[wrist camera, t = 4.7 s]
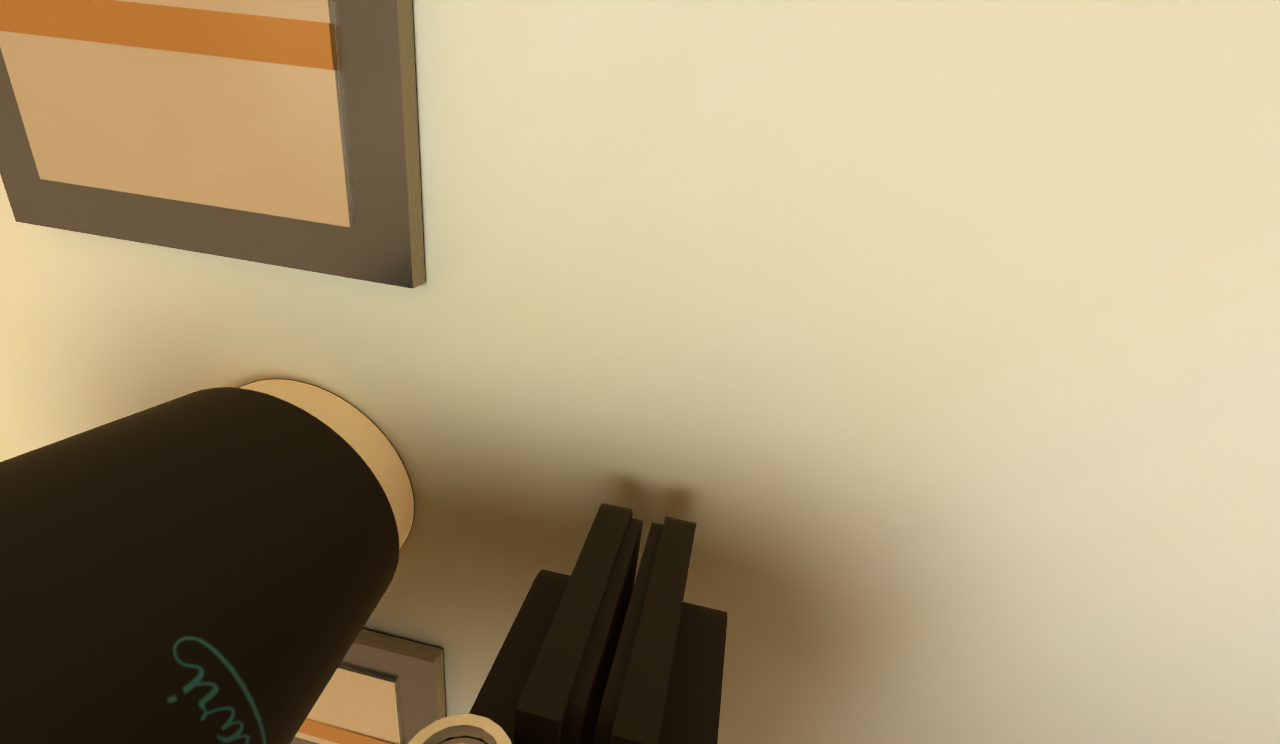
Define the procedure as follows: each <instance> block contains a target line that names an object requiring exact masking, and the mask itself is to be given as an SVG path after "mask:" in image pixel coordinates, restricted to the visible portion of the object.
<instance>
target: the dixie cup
mask: <svg viewBox="0 0 1280 744" xmlns="http://www.w3.org/2000/svg"><path fill="white" fill-rule="evenodd" d="M413 515H414V500H413V493H412V488H411V484H410V481H409V478H408V475H407V472H406V470H405V468H404V466H403V463H402V462H401V460H400V458H399V456H398V454H397V453H396V451H395V450H394V448H393V447H392V445H391V444H390V442H389V441H388V440H387V438H386V437H385V436H384V435H383V434H382V432H381V431H380V430H379V429H378V428H377V427H376V426H375V425H374V424H373V423H372V422H371V421H370V420H369V419H368V418H367V417H366V416H364V415H363V414H362V413H361V412H360V411H358V410H357V409H356V408H354V407H353V406H352V405H350V404H349V403H347V402H346V401H344V400H342V399H341V398H339V397H337V396H335V395H333V394H332V393H330V392H328V391H325V390H323V389H321V388H318V387H315V386H312V385H309V384H306V383H302V382H298V381H292V380H282V379H271V380H262V381H257V382H254V383H250V384H247V385H245V386H242V387H239V388H229V387H224V388H212V389H206V390H200V391H197V392H194V393H191V394H188V395H185V396H183V397H180V398H177V399H174V400H172V401H169V402H166V403H163V404H160V405H158V406H155V407H152V408H149V409H147V410H144V411H141V412H138V413H136V414H133V415H130V416H127V417H124V418H122V419H119V420H116V421H113V422H111V423H108V424H105V425H102V426H100V427H97V428H94V429H91V430H88V431H86V432H83V433H80V434H77V435H75V436H72V437H69V438H66V439H64V440H61V441H58V442H55V443H53V444H50V445H47V446H44V447H41V448H39V449H36V450H33V451H30V452H28V453H25V454H22V455H19V456H17V457H14V458H11V459H8V460H5V461H3V462H0V744H290V743H291V742H292V740H293V739H294V737H295V735H296V734H297V732H298V731H299V729H300V727H301V726H302V724H303V723H304V721H305V719H306V718H307V716H308V715H309V713H310V711H311V710H312V708H313V707H314V705H315V703H316V702H317V700H318V699H319V697H320V695H321V694H322V692H323V691H324V689H325V687H326V686H327V684H328V682H329V681H330V679H331V678H332V676H333V674H334V673H335V671H336V670H337V668H338V666H339V665H340V663H341V662H342V660H343V658H344V657H345V655H346V654H347V652H348V650H349V649H350V647H351V646H352V644H353V642H354V641H355V639H356V638H357V636H358V634H359V633H360V631H361V630H362V628H363V626H364V625H365V623H366V622H367V620H368V618H369V617H370V615H371V614H372V612H373V610H374V609H375V607H376V606H377V604H378V602H379V601H380V599H381V598H382V596H383V594H384V593H385V591H386V590H387V588H388V586H389V584H390V583H391V581H392V579H393V576H394V573H395V571H396V568H397V563H398V558H399V550H400V548H401V547H402V545H403V544H404V542H405V540H406V538H407V537H408V535H409V532H410V529H411V526H412V522H413Z"/></svg>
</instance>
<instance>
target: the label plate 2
mask: <svg viewBox="0 0 1280 744" xmlns="http://www.w3.org/2000/svg"><path fill="white" fill-rule="evenodd" d="M445 717H446V710H445V689H444V668H443V649H440V648H436V647H432V646H428V645H424V644H420V643H417V642H413V641H409V640H405V639H401V638H397V637H393V636H389V635H385V634H381V633H377V632H373V631H369V630H366V629H362V630H361V631H360V633H359V634H358V636H357V638H356V639H355V641H354V642H353V644H352V646H351V647H350V649H349V650H348V652H347V654H346V655H345V657H344V658H343V660H342V662H341V663H340V665H339V666H338V668H337V670H336V671H335V673H334V674H333V676H332V678H331V679H330V681H329V682H328V684H327V686H326V687H325V689H324V691H323V692H322V694H321V695H320V697H319V699H318V700H317V702H316V703H315V705H314V707H313V708H312V710H311V711H310V713H309V715H308V716H307V718H306V719H305V721H304V723H303V724H302V726H301V727H300V729H299V731H298V732H297V734H296V735H295V737H294V739H293V740H292V742H291V743H290V744H408V743H409V742H410V741H411V740H412V739H413V737H414V736H415V735H416V734H417V733H418V732H419V731H421V730H422V729H424V728H425V727H427V726H428V725H430V724H432V723H433V722H435V721H436V720H439V719H442V718H445Z"/></svg>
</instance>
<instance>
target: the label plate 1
mask: <svg viewBox="0 0 1280 744" xmlns="http://www.w3.org/2000/svg"><path fill="white" fill-rule="evenodd" d="M0 174H1V177H2V180H3V183H4V186H5V189H6V192H7V195H8V198H9V202H10V205H11V208H12V211H13V214H14V217H15V220H16V222H22V223H28V224H34V225H40V226H46V227H52V228H58V229H64V230H70V231H76V232H82V233H88V234H94V235H99V236H105V237H111V238H117V239H123V240H129V241H135V242H141V243H147V244H153V245H159V246H165V247H171V248H177V249H182V250H188V251H194V252H200V253H206V254H212V255H218V256H224V257H230V258H236V259H242V260H248V261H254V262H259V263H265V264H271V265H277V266H283V267H289V268H295V269H301V270H307V271H313V272H319V273H325V274H331V275H337V276H342V277H348V278H354V279H360V280H366V281H372V282H378V283H384V284H390V285H396V286H402V287H408V288H415V287H417V286H419V285H421V284H423V283H425V266H424V245H423V224H422V203H421V182H420V160H419V139H418V118H417V97H416V76H415V55H414V34H413V13H412V0H0Z"/></svg>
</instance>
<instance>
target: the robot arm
mask: <svg viewBox="0 0 1280 744" xmlns="http://www.w3.org/2000/svg"><path fill="white" fill-rule="evenodd" d="M632 515H633V510H631V509H627V508H622V507H617V506H613V505H608V504H603V503H602V504H601V506H600V508H599V510H598V513H597V515H596V518H595V520H594V522H593V525H592V527H591V530H590V532H589V534H588V537H587V539H586V541H585V544H584V546H583V549H582V551H581V553H580V556H579V558H578V561H577V563H576V565H575V568H574V570H573V573H572V575H571V576H568V575H564V574H559V573H555V572H551V571H546V570H541V571H540V572H539V573H538V575H537V577H536V579H535V580H534V582H533V584H532V586H531V588H530V590H529V593H528V595H527V597H526V599H525V601H524V603H523V605H522V607H521V609H520V611H519V613H518V615H517V617H516V619H515V621H514V623H513V625H512V627H511V629H510V631H509V633H508V635H507V637H506V639H505V641H504V643H503V646H502V648H501V650H500V652H499V654H498V656H497V658H496V660H495V662H494V664H493V666H492V668H491V670H490V672H489V674H488V676H487V678H486V680H485V682H484V684H483V686H482V688H481V690H480V692H479V694H478V696H477V698H476V701H475V703H474V705H473V707H472V709H471V711H470V713H469V714H458V715H452V716H449V717H445V718H442V719H439V720H436V721H435V722H433V723H432V724H430V725H428V726H427V727H425V728H424V729H422V730H421V731H419V732H418V733H417V734H416V735H415V736H414V737H413V739H412V740H411V741H410V742H409V743H408V744H717V740H718V728H719V715H720V703H721V690H722V678H723V665H724V652H725V640H726V627H727V612H724V611H719V610H715V609H711V608H706V607H702V606H698V605H693V604H689V603H685V602H683V597H684V591H685V585H686V579H687V573H688V568H689V562H690V556H691V550H692V544H693V539H694V533H695V527H696V523H692V522H688V521H683V520H678V519H674V518H669V517H665V521H664V525H661V524H656V523H652V524H651V527H650V531H649V534H648V538H647V541H646V545H645V549H644V552H643V556H642V559H641V563H640V567H639V570H638V574H637V577H636V581H635V575H636V567H637V560H638V553H639V546H640V539H641V532H642V524H643V521H642V520H638V519H633V518H632ZM634 582H635V585H634Z"/></svg>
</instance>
